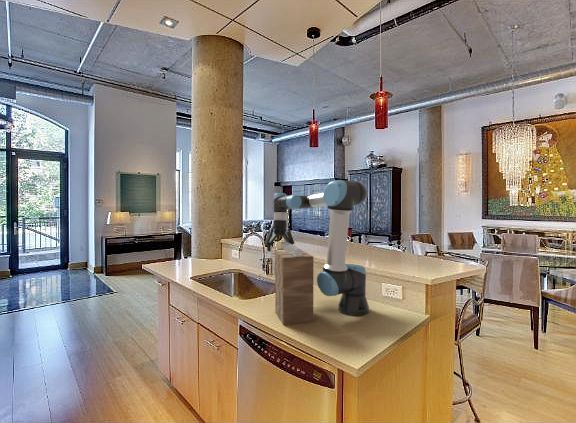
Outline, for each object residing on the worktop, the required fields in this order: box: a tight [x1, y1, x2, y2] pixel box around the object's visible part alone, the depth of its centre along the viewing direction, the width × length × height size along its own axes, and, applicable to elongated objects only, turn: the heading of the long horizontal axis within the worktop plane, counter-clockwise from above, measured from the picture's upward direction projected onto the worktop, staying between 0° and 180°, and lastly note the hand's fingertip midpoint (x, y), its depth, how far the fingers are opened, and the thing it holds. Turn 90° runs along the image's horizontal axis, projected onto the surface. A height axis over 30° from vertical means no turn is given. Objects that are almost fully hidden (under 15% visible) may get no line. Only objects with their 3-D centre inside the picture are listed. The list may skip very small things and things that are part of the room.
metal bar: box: [280, 241, 303, 257], centre depth 154 cm, size 26×3×3 cm, turn 15°
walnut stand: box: [274, 250, 314, 326], centre depth 150 cm, size 16×14×30 cm
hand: (279, 256), depth 184 cm, fingers open, 13 cm apart
